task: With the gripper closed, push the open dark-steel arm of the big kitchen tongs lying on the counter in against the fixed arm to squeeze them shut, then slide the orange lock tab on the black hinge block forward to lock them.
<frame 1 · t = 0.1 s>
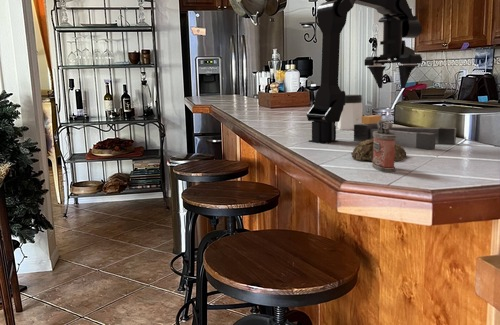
hand: (391, 88, 153), 15 cm above the counter, tool pointing down, fingers open, 9 cm apart
tongs base: (378, 141, 139), on the counter
tong arm: (418, 134, 134), point 2 cm above the counter, hinge at 25.0°
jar: (349, 129, 173), on the counter
lighter: (383, 169, 100), on the counter
lock tab: (371, 119, 140), point 6 cm above the counter, slide at 0.0 cm
bread roll: (377, 160, 114), on the counter
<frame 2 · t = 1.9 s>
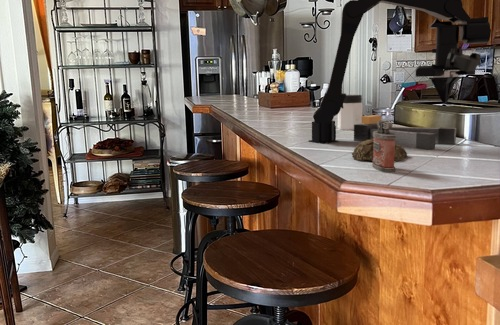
hand: (444, 102, 134), 11 cm above the counter, tool pointing down, fingers closed
nothing on the counter moved.
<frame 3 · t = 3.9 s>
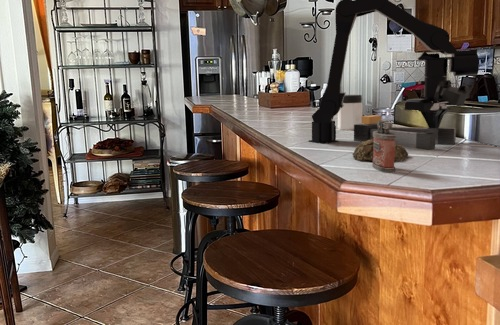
hand: (434, 134, 133), 2 cm above the counter, tool pointing down, fingers closed
tong arm: (418, 134, 133), point 2 cm above the counter, hinge at 23.9°, touching gripper
everything else where it was.
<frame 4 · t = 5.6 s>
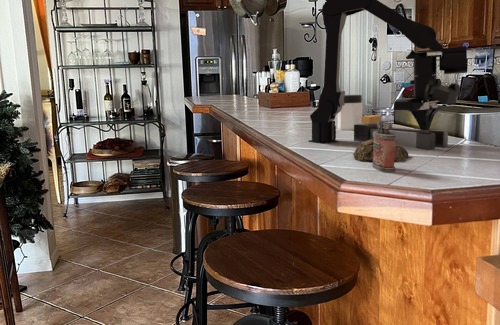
hand: (425, 134, 130), 3 cm above the counter, tool pointing down, fingers closed
tong arm: (412, 136, 131), point 2 cm above the counter, hinge at 5.3°, touching gripper
everything else where it was.
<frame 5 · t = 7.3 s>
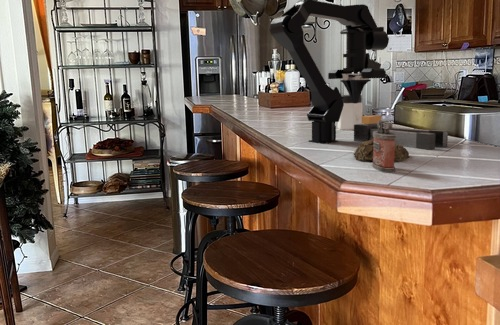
hand: (355, 103, 145), 11 cm above the counter, tool pointing down, fingers closed
tong arm: (412, 136, 131), point 2 cm above the counter, hinge at 5.0°
everything else where it was.
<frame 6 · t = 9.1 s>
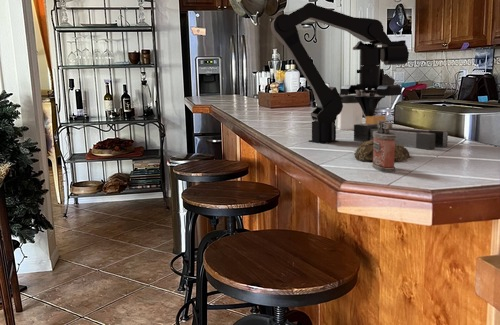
hand: (369, 120, 141), 6 cm above the counter, tool pointing down, fingers closed
lock tab: (375, 119, 139), point 6 cm above the counter, slide at 1.6 cm, touching gripper
everything else where it was.
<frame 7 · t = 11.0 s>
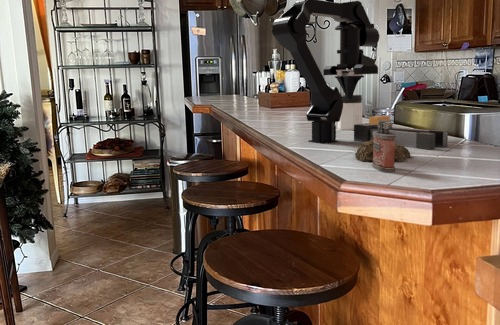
hand: (349, 99, 145), 12 cm above the counter, tool pointing down, fingers closed
lock tab: (379, 120, 138), point 6 cm above the counter, slide at 3.0 cm
everything else where it was.
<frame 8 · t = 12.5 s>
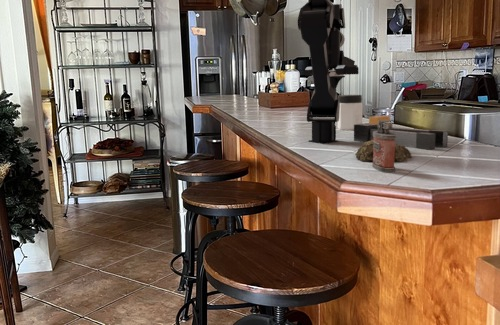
hand: (330, 98, 151), 12 cm above the counter, tool pointing down, fingers closed
at the end: tong arm at +5° (first picture: +25°); lock tab slide at 3.0 cm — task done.
